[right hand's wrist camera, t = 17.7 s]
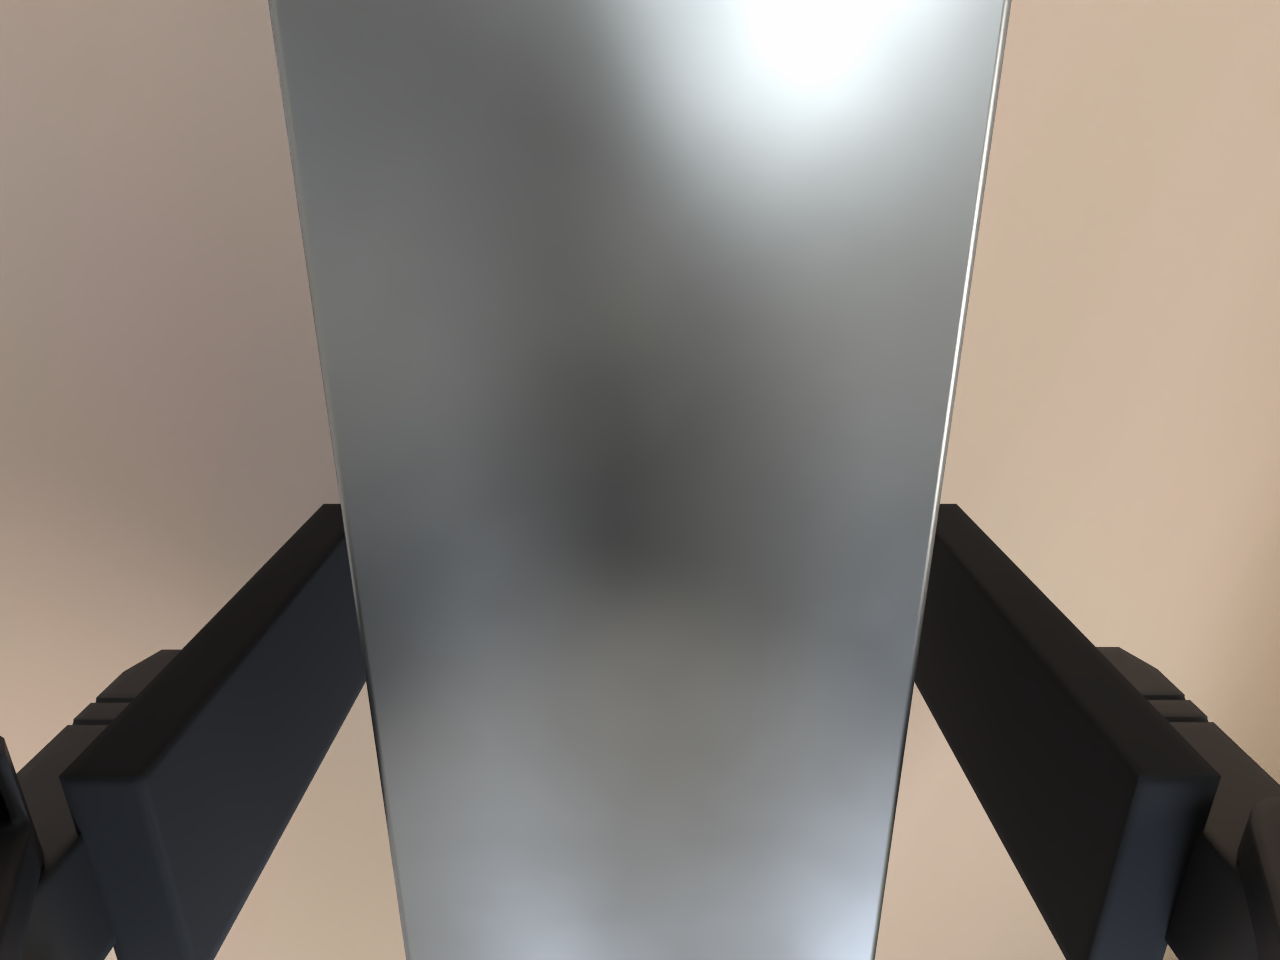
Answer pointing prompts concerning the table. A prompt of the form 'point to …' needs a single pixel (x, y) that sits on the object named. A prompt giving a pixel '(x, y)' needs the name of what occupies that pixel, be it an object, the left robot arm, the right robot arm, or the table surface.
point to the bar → (640, 443)
